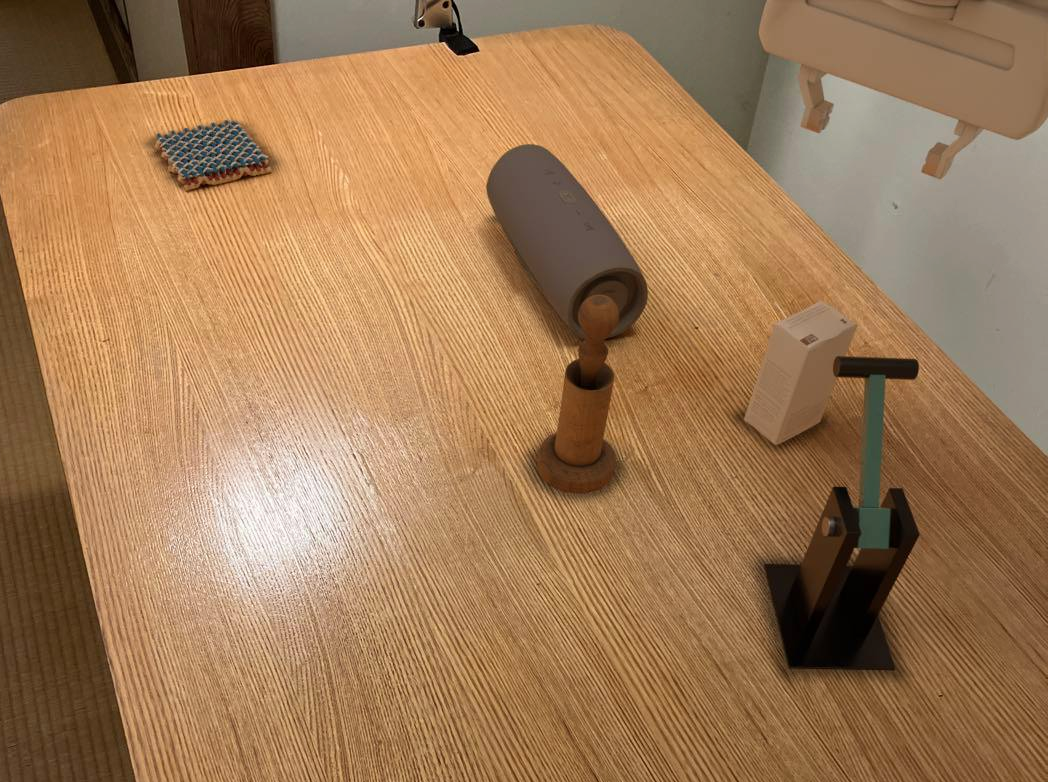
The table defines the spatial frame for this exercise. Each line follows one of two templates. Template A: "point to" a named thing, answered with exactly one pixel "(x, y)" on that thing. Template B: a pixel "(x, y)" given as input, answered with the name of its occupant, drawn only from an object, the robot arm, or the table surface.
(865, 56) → the robot arm
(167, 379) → the table surface
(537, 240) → the bluetooth speaker
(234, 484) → the table surface
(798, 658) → the bracket
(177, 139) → the woven mat
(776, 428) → the cosmetic box
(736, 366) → the table surface
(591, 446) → the mortar and pestle
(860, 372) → the lever
